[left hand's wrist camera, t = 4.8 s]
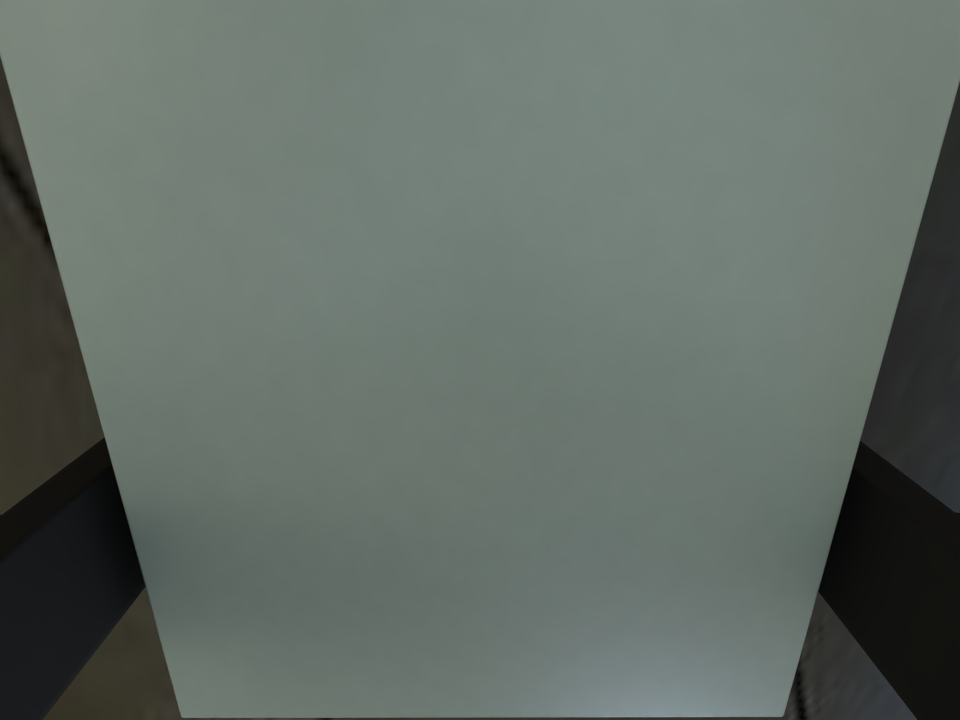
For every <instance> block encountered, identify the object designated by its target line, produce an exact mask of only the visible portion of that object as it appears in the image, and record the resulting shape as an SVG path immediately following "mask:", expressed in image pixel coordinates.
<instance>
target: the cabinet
mask: <svg viewBox="0 0 960 720" xmlns="http://www.w3.org/2000/svg"><path fill="white" fill-rule="evenodd" d="M0 56H1V60H2V64H3V67H4V71H5V75H6V78H7V82H8V85H9V89H10V93H11V96H12V100H13V104H14V107H15V111H16V115H17V118H18V122H19V126H20V129H21V133H22V137H23V140H24V144H25V148H26V151H27V155H28V159H29V162H30V166H31V169H32V173H33V177H34V180H35V184H36V188H37V191H38V195H39V199H40V202H41V206H42V210H43V213H44V217H45V221H46V224H47V228H48V232H49V235H50V239H51V243H52V246H53V250H54V253H55V257H56V261H57V264H58V268H59V272H60V275H61V279H62V283H63V286H64V290H65V294H66V297H67V301H68V305H69V308H70V312H71V316H72V319H73V323H74V327H75V330H76V334H77V337H78V341H79V345H80V348H81V352H82V356H83V359H84V363H85V367H86V370H87V374H88V378H89V381H90V385H91V389H92V392H93V396H94V400H95V403H96V407H97V411H98V414H99V418H100V421H101V425H102V429H103V432H104V436H105V440H106V443H107V447H108V451H109V454H110V458H111V462H112V465H113V469H114V473H115V476H116V480H117V484H118V487H119V491H120V495H121V498H122V502H123V505H124V509H125V513H126V516H127V520H128V524H129V527H130V531H131V535H132V538H133V542H134V546H135V549H136V553H137V557H138V560H139V564H140V568H141V571H142V575H143V579H144V582H145V586H146V589H147V593H148V597H149V600H150V604H151V608H152V611H153V615H154V619H155V622H156V626H157V630H158V633H159V637H160V641H161V644H162V648H163V652H164V655H165V659H166V663H167V666H168V670H169V673H170V677H171V681H172V684H173V688H174V692H175V695H176V699H177V703H178V706H179V710H180V714H181V717H183V718H361V717H782V716H783V715H784V712H785V708H786V705H787V701H788V698H789V694H790V690H791V687H792V683H793V680H794V676H795V672H796V669H797V665H798V662H799V658H800V654H801V651H802V647H803V644H804V640H805V636H806V633H807V629H808V626H809V622H810V618H811V615H812V611H813V608H814V604H815V600H816V597H817V593H818V590H819V586H820V582H821V579H822V575H823V572H824V568H825V564H826V561H827V557H828V554H829V550H830V546H831V543H832V539H833V536H834V532H835V528H836V525H837V521H838V518H839V514H840V510H841V507H842V503H843V500H844V496H845V492H846V489H847V485H848V482H849V478H850V474H851V471H852V467H853V464H854V460H855V456H856V453H857V449H858V446H859V442H860V438H861V435H862V431H863V428H864V424H865V420H866V417H867V413H868V410H869V406H870V402H871V399H872V395H873V392H874V388H875V384H876V381H877V377H878V374H879V370H880V366H881V363H882V359H883V356H884V352H885V348H886V345H887V341H888V338H889V334H890V330H891V327H892V323H893V320H894V316H895V312H896V309H897V305H898V302H899V298H900V294H901V291H902V287H903V284H904V280H905V276H906V273H907V269H908V266H909V262H910V258H911V255H912V251H913V248H914V244H915V240H916V237H917V233H918V230H919V226H920V222H921V219H922V215H923V212H924V208H925V204H926V201H927V197H928V194H929V190H930V186H931V183H932V179H933V176H934V172H935V168H936V165H937V161H938V158H939V154H940V150H941V147H942V143H943V140H944V136H945V132H946V129H947V125H948V122H949V118H950V114H951V111H952V107H953V104H954V100H955V97H956V93H957V89H958V86H959V82H960V0H0Z"/></svg>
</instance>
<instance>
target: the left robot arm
mask: <svg viewBox="0 0 960 720" xmlns="http://www.w3.org/2000/svg"><path fill="white" fill-rule="evenodd" d="M144 588H145V582H144V579H143V575H142V571H141V568H140V564H139V560H138V557H137V553H136V549H135V546H134V542H133V538H132V535H131V531H130V527H129V524H128V520H127V516H126V513H125V509H124V505H123V502H122V498H121V495H120V491H119V487H118V484H117V480H116V476H115V473H114V469H113V465H112V462H111V458H110V454H109V451H108V447H107V443H106V440H105V438H103V439H102V440H101V441H99V442H98V443H97V444H95V445H94V446H93V447H91V448H90V449H89V450H87V451H86V452H85V453H83V454H82V455H81V456H79V457H78V458H77V459H75V460H74V461H73V462H71V463H70V464H69V465H67V466H66V467H65V468H63V469H62V470H61V471H60V472H58V473H57V474H56V475H54V476H53V477H52V478H50V479H49V480H48V481H46V482H45V483H44V484H42V485H41V486H40V487H38V488H37V489H36V490H34V491H33V492H32V493H30V494H29V495H28V496H26V497H25V498H24V499H22V500H21V501H20V502H19V503H17V504H16V505H15V506H13V507H12V508H11V509H9V510H8V511H7V512H5V513H4V514H3V515H0V720H43V718H44V717H45V716H46V714H47V713H48V712H49V711H50V709H51V708H52V707H53V705H54V704H55V703H56V701H57V700H58V699H59V698H60V696H61V695H62V694H63V692H64V691H65V690H66V689H67V687H68V686H69V685H70V683H71V682H72V681H73V680H74V678H75V677H76V676H77V674H78V673H79V672H80V670H81V669H82V668H83V667H84V665H85V664H86V663H87V661H88V660H89V659H90V658H91V656H92V655H93V654H94V652H95V651H96V650H97V648H98V647H99V646H100V645H101V643H102V642H103V641H104V639H105V638H106V637H107V636H108V634H109V633H110V632H111V630H112V629H113V628H114V626H115V625H116V624H117V623H118V621H119V620H120V619H121V617H122V616H123V615H124V614H125V612H126V611H127V610H128V608H129V607H130V606H131V604H132V603H133V602H134V601H135V599H136V598H137V597H138V595H139V594H140V593H141V592H142V590H143V589H144ZM818 592H819V593H820V594H821V595H822V597H823V598H824V599H825V601H826V602H827V603H828V604H829V606H830V607H831V608H832V610H833V611H834V612H835V614H836V615H837V616H838V617H839V619H840V620H841V621H842V623H843V624H844V625H845V626H846V628H847V629H848V630H849V632H850V633H851V634H852V636H853V637H854V638H855V639H856V641H857V642H858V643H859V645H860V646H861V647H862V648H863V650H864V651H865V652H866V654H867V655H868V656H869V658H870V659H871V660H872V661H873V663H874V664H875V665H876V667H877V668H878V669H879V670H880V672H881V673H882V674H883V676H884V677H885V678H886V680H887V681H888V682H889V683H890V685H891V686H892V687H893V689H894V690H895V691H896V692H897V694H898V695H899V696H900V698H901V699H902V700H903V701H904V703H905V704H906V705H907V707H908V708H909V709H910V711H911V712H912V713H913V714H914V716H915V717H916V718H917V720H960V513H955V512H953V511H952V510H951V509H949V508H948V507H947V506H945V505H944V504H943V503H941V502H940V501H939V500H938V499H936V498H935V497H934V496H932V495H931V494H930V493H928V492H927V491H926V490H924V489H923V488H922V487H920V486H919V485H918V484H916V483H915V482H914V481H912V480H911V479H910V478H908V477H907V476H906V475H904V474H903V473H902V472H900V471H899V470H898V469H897V468H895V467H894V466H893V465H891V464H890V463H889V462H887V461H886V460H885V459H883V458H882V457H881V456H879V455H878V454H877V453H875V452H874V451H873V450H871V449H870V448H869V447H867V446H866V445H865V444H863V443H862V442H861V441H860V442H859V446H858V449H857V453H856V456H855V460H854V464H853V467H852V471H851V474H850V478H849V482H848V485H847V489H846V492H845V496H844V500H843V503H842V507H841V510H840V514H839V518H838V521H837V525H836V528H835V532H834V536H833V539H832V543H831V546H830V550H829V554H828V557H827V561H826V564H825V568H824V572H823V575H822V579H821V582H820V586H819V590H818Z"/></svg>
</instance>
